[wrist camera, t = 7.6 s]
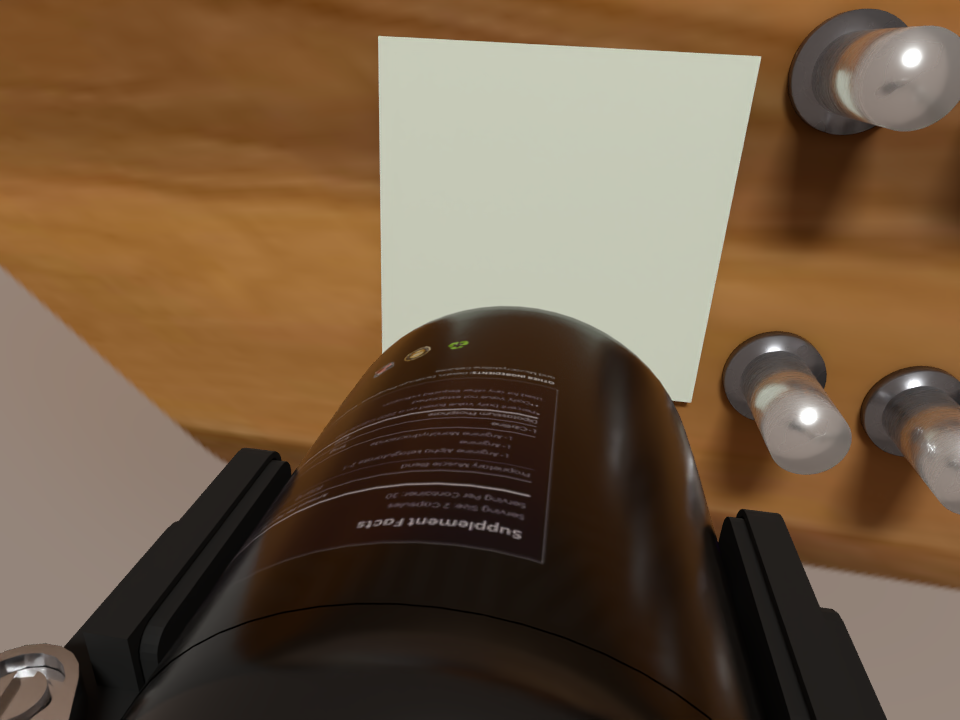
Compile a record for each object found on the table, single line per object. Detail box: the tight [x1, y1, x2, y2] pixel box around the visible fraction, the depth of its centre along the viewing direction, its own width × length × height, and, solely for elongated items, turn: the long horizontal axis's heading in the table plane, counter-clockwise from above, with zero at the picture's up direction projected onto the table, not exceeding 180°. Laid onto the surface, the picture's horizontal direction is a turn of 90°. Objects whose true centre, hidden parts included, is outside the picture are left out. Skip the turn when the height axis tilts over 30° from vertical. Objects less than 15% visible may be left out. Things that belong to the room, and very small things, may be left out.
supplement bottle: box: [122, 306, 768, 720], centre depth 8 cm, size 7×7×12 cm
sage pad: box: [378, 36, 761, 403], centre depth 30 cm, size 15×15×1 cm
